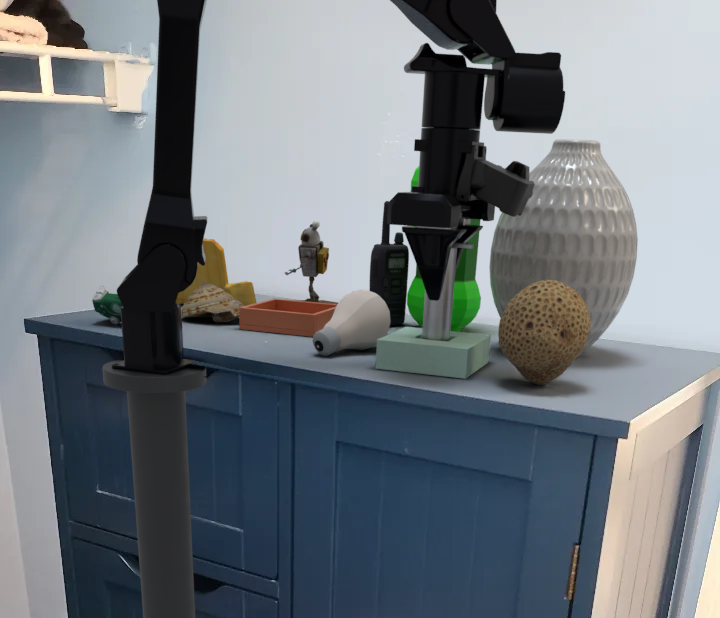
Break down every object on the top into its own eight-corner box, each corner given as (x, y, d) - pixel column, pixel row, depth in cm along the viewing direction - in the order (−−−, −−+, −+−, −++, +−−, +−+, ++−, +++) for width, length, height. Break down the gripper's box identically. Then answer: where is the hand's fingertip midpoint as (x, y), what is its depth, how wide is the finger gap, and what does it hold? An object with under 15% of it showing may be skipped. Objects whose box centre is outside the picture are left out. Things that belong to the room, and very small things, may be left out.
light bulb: (306, 376, 108) (367, 338, 114) (348, 374, 103) (408, 335, 109) (287, 319, 104) (351, 283, 110) (329, 315, 100) (393, 278, 106)
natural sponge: (570, 399, 90) (586, 288, 86) (480, 388, 93) (491, 280, 88) (588, 382, 98) (603, 279, 93) (505, 372, 101) (515, 272, 96)
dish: (314, 337, 115) (314, 314, 114) (239, 329, 118) (238, 307, 117) (344, 325, 124) (345, 304, 123) (274, 318, 127) (274, 298, 126)
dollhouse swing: (259, 304, 138) (258, 236, 134) (225, 312, 130) (223, 240, 126) (197, 298, 142) (195, 231, 138) (161, 305, 134) (157, 234, 130)
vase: (646, 356, 112) (682, 144, 102) (570, 372, 102) (601, 138, 92) (534, 336, 122) (556, 141, 112) (453, 349, 112) (470, 135, 101)
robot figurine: (292, 304, 139) (293, 215, 134) (354, 309, 138) (357, 219, 132) (271, 315, 130) (271, 219, 124) (337, 319, 128) (340, 223, 123)
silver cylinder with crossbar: (461, 343, 99) (469, 240, 94) (402, 337, 101) (408, 236, 96) (468, 339, 101) (477, 239, 97) (411, 333, 103) (417, 235, 99)
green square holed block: (465, 379, 97) (468, 348, 95) (375, 368, 100) (376, 339, 98) (488, 362, 105) (490, 334, 104) (404, 353, 108) (405, 326, 106)
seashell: (223, 309, 118) (177, 277, 120) (211, 350, 121) (166, 318, 123) (263, 302, 124) (219, 272, 126) (251, 341, 127) (208, 311, 129)
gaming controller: (104, 334, 121) (80, 303, 116) (114, 309, 122) (91, 278, 117) (166, 342, 118) (144, 311, 113) (176, 316, 119) (155, 284, 114)
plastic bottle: (495, 330, 125) (517, 114, 114) (449, 339, 118) (467, 109, 106) (434, 321, 131) (449, 114, 119) (386, 328, 123) (397, 108, 112)
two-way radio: (378, 328, 123) (384, 201, 117) (357, 323, 126) (361, 199, 120) (410, 325, 127) (417, 201, 120) (389, 320, 130) (395, 199, 123)
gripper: (511, 128, 82) (493, 316, 89) (550, 135, 97) (532, 295, 105) (389, 124, 85) (381, 306, 92) (446, 131, 101) (435, 287, 108)
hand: (438, 298), depth 99 cm, fingers closed on silver cylinder with crossbar, 3 cm apart
